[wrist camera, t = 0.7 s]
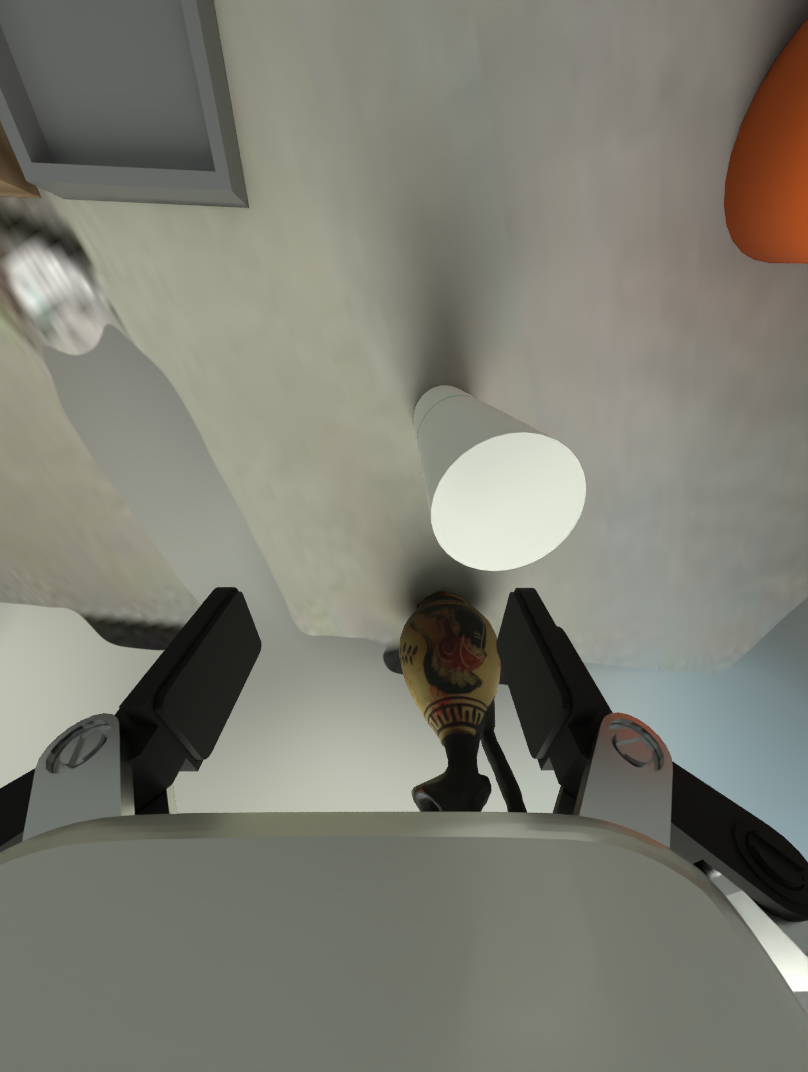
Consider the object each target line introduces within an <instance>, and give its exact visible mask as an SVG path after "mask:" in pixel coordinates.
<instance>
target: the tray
mask: <svg viewBox="0 0 808 1072" xmlns="http://www.w3.org/2000/svg"><path fill="white" fill-rule="evenodd" d="M0 121H1V123H2V126H3V128H4V130H5V133H6V135H7V137H8V140H9V142H10V144H11V147H12V149H13V151H14V153H15V156H16V158H17V160H18V163H19V165H20V167H21V170H22V172H23V174H24V177H25V179H26V181H27V182H29V183H31V184H34V185H36V186H38V187H40V188H42V189H44V190H46V191H48V192H51V193H53V194H55V195H57V196H59V197H61V198H63V199H75V200H96V201H117V202H138V203H159V204H180V205H202V206H223V207H244V208H249V206H248V200H247V194H246V188H245V182H244V176H243V171H242V165H241V159H240V153H239V147H238V141H237V135H236V130H235V124H234V118H233V112H232V106H231V100H230V95H229V89H228V83H227V77H226V71H225V65H224V59H223V54H222V48H221V42H220V36H219V30H218V24H217V19H216V13H215V7H214V1H213V0H0Z"/></svg>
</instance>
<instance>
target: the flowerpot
mask: <svg viewBox="0 0 808 1072" xmlns="http://www.w3.org/2000/svg"><path fill="white" fill-rule="evenodd" d="M724 209H725V216H726V224H727V227H728V230H729V233H730V235H731V238H732V240H733V242H734V243H735V244H736V246H737V247H738V248H739V249H740V251H741V252H742V253H744V254H746V255H747V256H749V257H751V258H752V259H754V260H758V261H763V262H768V263H803V264H808V19H807V20H806V21H805V22H804V23H803V24H802V25H801V27H800V28H799V29H798V30H797V32H796V33H795V34H794V36H793V37H792V38H791V40H790V41H789V42H788V44H787V45H786V47H785V48H784V49H783V51H782V52H781V53H780V55H779V56H778V58H777V59H776V60H775V62H774V64H773V65H772V67H771V69H770V70H769V72H768V74H767V75H766V77H765V79H764V81H763V82H762V84H761V86H760V87H759V89H758V91H757V92H756V94H755V97H754V99H753V101H752V103H751V105H750V107H749V109H748V112H747V114H746V116H745V118H744V120H743V122H742V124H741V127H740V130H739V133H738V136H737V139H736V142H735V145H734V148H733V151H732V154H731V158H730V163H729V167H728V172H727V177H726V182H725V198H724Z"/></svg>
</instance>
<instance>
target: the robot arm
mask: <svg viewBox="0 0 808 1072" xmlns="http://www.w3.org/2000/svg"><path fill="white" fill-rule="evenodd" d="M260 651H261V640H260V638H259V635H258V632H257V630H256V627H255V624H254V622H253V619H252V617H251V614H250V611H249V609H248V606H247V603H246V601H245V598H244V596H243V594H242V592H239V591H238V589H237V588H235V587H217V588H215V589H214V590H213V591H212V593H211V594H210V595H209V596H208V598H207V599H206V600H205V601H204V602H203V604H202V605H201V606H200V607H199V609H198V610H197V611H196V612H195V613H194V615H193V616H192V617H191V618H190V620H189V621H188V622H187V623H186V625H185V626H184V627H183V628H182V630H181V631H180V632H179V633H178V634H177V636H176V637H175V638H174V639H173V641H172V642H171V643H170V644H169V646H168V647H167V648H166V649H165V651H164V652H163V653H162V654H161V655H160V657H159V658H158V659H157V660H156V662H155V663H154V664H153V665H152V667H151V668H150V669H149V670H148V672H147V673H146V674H145V675H144V677H143V678H142V679H141V680H140V682H139V683H138V684H137V685H136V686H135V688H134V689H133V690H132V691H131V693H130V694H129V695H128V697H127V698H126V699H125V700H124V701H123V702H122V704H121V705H120V706H119V708H120V709H119V710H118V711H117V713H116V714H115V715H113V714H106V713H103V714H99V715H93V716H91V717H89V718H86V719H84V720H81V721H80V722H78V723H76V724H75V725H73V726H71V727H70V728H68V729H67V730H66V731H65V732H63V733H62V734H60V735H59V736H58V737H57V738H56V739H55V740H54V741H53V742H52V743H51V744H50V745H49V746H48V747H47V748H46V750H45V751H44V753H43V754H42V755H41V757H40V758H39V761H38V763H37V766H36V768H35V769H33V770H31V771H30V772H28V773H26V774H25V775H23V776H21V777H19V778H18V779H16V780H14V781H12V782H11V783H9V784H7V785H6V786H4V787H2V788H0V1072H808V862H807V861H806V860H805V858H804V857H803V856H802V855H801V854H800V852H799V851H798V850H797V849H796V848H795V847H794V846H793V845H792V844H791V843H790V842H789V841H788V840H787V839H786V838H785V837H783V836H782V835H781V834H779V833H778V832H777V831H776V830H774V829H773V828H771V827H770V826H769V825H767V824H766V823H764V822H763V821H761V820H760V819H758V818H757V817H755V816H754V815H752V814H751V813H749V812H748V811H746V810H745V809H743V808H742V807H740V806H739V805H737V804H736V803H734V802H733V801H731V800H730V799H728V798H727V797H725V796H724V795H722V794H721V793H719V792H718V791H716V790H715V789H713V788H712V787H710V786H709V785H707V784H706V783H704V782H703V781H701V780H700V779H698V778H697V777H695V776H694V775H692V774H691V773H689V772H687V771H686V770H685V769H683V768H681V767H680V766H678V765H677V764H675V763H674V762H672V758H671V755H670V753H669V751H668V749H667V747H666V745H665V744H664V742H663V741H662V740H661V738H660V737H659V736H658V735H657V734H656V733H655V732H654V731H653V730H652V729H651V728H650V727H649V726H647V725H646V724H644V723H643V722H642V721H640V720H638V719H637V718H634V717H632V716H630V715H627V714H623V713H612V711H611V710H610V707H609V706H608V704H607V703H606V701H605V699H604V697H603V696H602V694H601V692H600V691H599V689H598V687H597V686H596V684H595V682H594V680H593V679H592V677H591V676H590V674H589V672H588V670H587V669H586V667H585V665H584V663H583V662H582V660H581V658H580V657H579V655H578V653H577V652H576V650H575V648H574V647H573V645H572V643H571V641H570V640H569V638H568V636H567V635H566V633H565V632H564V630H563V629H562V628H560V627H557V626H556V624H555V623H554V621H553V619H552V617H551V616H550V614H549V612H548V610H547V609H546V607H545V605H544V603H543V602H542V600H541V598H540V597H539V595H538V593H537V591H536V590H535V589H534V588H516V589H515V591H514V592H511V593H510V594H509V598H508V602H507V605H506V609H505V613H504V617H503V621H502V624H501V628H500V632H499V636H498V639H497V652H498V655H499V658H500V661H501V665H502V668H503V671H504V674H505V677H506V680H507V683H508V686H509V689H510V692H511V696H512V699H513V702H514V705H515V708H516V711H517V714H518V717H519V720H520V723H521V727H522V730H523V733H524V736H525V739H526V742H527V745H528V748H529V751H530V754H531V756H532V757H533V758H534V759H538V762H539V765H540V768H541V770H554V771H555V775H556V777H557V780H558V783H559V784H560V785H561V787H560V790H559V794H558V797H557V800H556V803H555V807H554V810H553V813H517V812H268V813H267V812H266V813H265V812H264V813H182V814H177V807H176V801H175V794H174V786H173V782H174V780H175V778H176V776H177V774H178V772H179V771H198V770H199V768H200V766H201V764H202V762H203V760H204V759H207V758H208V757H209V756H210V754H211V752H212V751H213V749H214V746H215V745H216V742H217V740H218V738H219V736H220V734H221V732H222V730H223V728H224V726H225V724H226V722H227V719H228V718H229V716H230V713H231V711H232V709H233V707H234V705H235V703H236V701H237V699H238V697H239V695H240V693H241V691H242V689H243V686H244V684H245V682H246V680H247V678H248V676H249V674H250V672H251V670H252V668H253V666H254V664H255V662H256V660H257V657H258V655H259V653H260Z"/></svg>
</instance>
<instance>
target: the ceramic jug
mask: <svg viewBox="0 0 808 1072" xmlns="http://www.w3.org/2000/svg"><path fill="white" fill-rule="evenodd" d="M417 606H418V610H417V611H415V612H414V613H413V614H412V616H411V617H410V618H409V619H408V621H407V622H406V624H405V626H404V629H403V631H402V634H401V637H400V647H399V657H400V661H401V666H402V670H403V675H404V678H405V681H406V684H407V687H408V689H409V691H410V694H411V696H412V698H413V700H414V701H415V703H416V705H417V706H418V708H419V710H420V711H421V713H422V715H423V716H424V717H425V719H426V721H427V723H428V724H429V725H430V727H431V728H432V729H433V730H434V732H435V733H436V735H437V736H438V738H439V739H440V741H441V744H442V745H443V746H444V747H445V750H446V754H447V758H448V767H447V769H446V771H445V772H444V773H443V774H441V775H439V776H438V777H435V778H433V779H431V780H429V781H427V782H424V783H423V784H420V785H418V786H416V787H414V788H413V790H412V797H413V800H414V802H415V803H416V805H417V807H418V808H419V810H420V812H481V811H482V808H483V807H484V806H485V804H486V803H487V800H488V798H489V795H490V793H491V784H490V781H489V778H488V777H487V776H484V775H481V774H479V773H478V768H477V753H478V748H479V742H480V740H481V742H482V746H483V749H484V751H485V754H486V756H487V758H488V761H489V763H490V764H491V767H492V769H493V772H494V773H495V777H496V780H497V783H498V785H499V788H500V790H501V793H502V795H503V798H504V800H505V802H506V805H507V809H508V812H517V813H527V811H526V808H525V805H524V803H523V800H522V794H521V791H520V788H519V786H518V784H517V781H516V780H515V777H514V775H513V773H512V770H511V769H510V766H509V764H508V762H507V760H506V758H505V755H504V753H503V751H502V749H501V748H500V745H499V744H498V742H497V739H496V736H495V733H494V727H495V704H494V698H495V696H496V693H497V688H498V685H499V680H500V668H501V661H500V658H499V655H498V652H497V637H496V634H495V632H494V630H493V628H492V626H491V624H490V622H489V621H488V620H487V619H486V618H485V617H484V616H483V615H482V614H481V613H480V612H478V611H477V610H476V609H475V608H473V607H472V606H470V605H469V604H468V603H467V602H466V601H465V600H464V599H463V598H461V597H460V596H457V595H454V594H452V593H447V592H437V593H435V594H433V595H431V596H429V597H426V598H425V599H424V600H422V601H421V602H420V603H419V604H418V605H417ZM493 618H494V617H493Z"/></svg>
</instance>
